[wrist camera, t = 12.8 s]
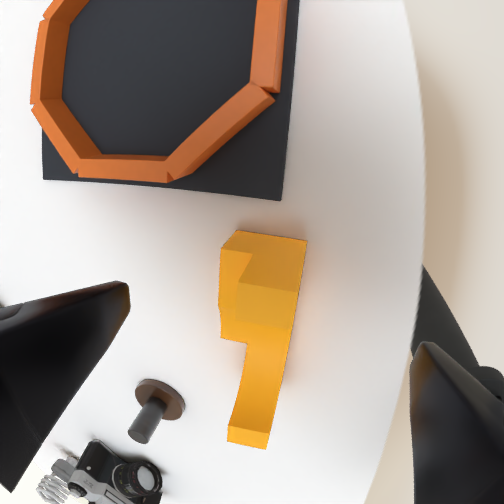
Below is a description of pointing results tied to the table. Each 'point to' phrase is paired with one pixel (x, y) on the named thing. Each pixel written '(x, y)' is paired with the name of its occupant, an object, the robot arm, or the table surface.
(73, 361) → the robot arm
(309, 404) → the table surface
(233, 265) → the pipe clamp
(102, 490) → the camera
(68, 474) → the light bulb
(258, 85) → the ring
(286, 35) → the mat
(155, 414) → the stake
